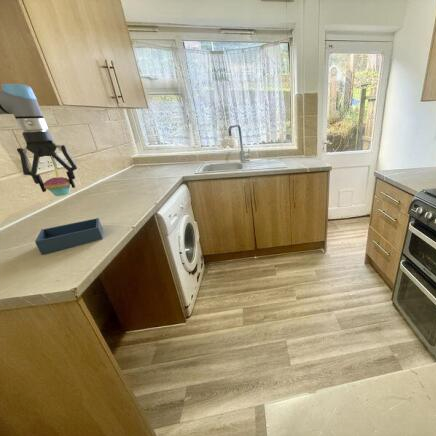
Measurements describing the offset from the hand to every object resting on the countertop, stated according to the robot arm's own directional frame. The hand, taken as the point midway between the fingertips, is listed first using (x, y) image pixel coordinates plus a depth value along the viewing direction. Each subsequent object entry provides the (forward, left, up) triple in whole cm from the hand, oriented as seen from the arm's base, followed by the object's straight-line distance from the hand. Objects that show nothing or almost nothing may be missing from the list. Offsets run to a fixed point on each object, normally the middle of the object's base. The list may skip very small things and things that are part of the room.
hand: (59, 189), depth 100 cm
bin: (0, -12, -19) cm, 23 cm away
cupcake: (0, 0, -3) cm, 3 cm away
